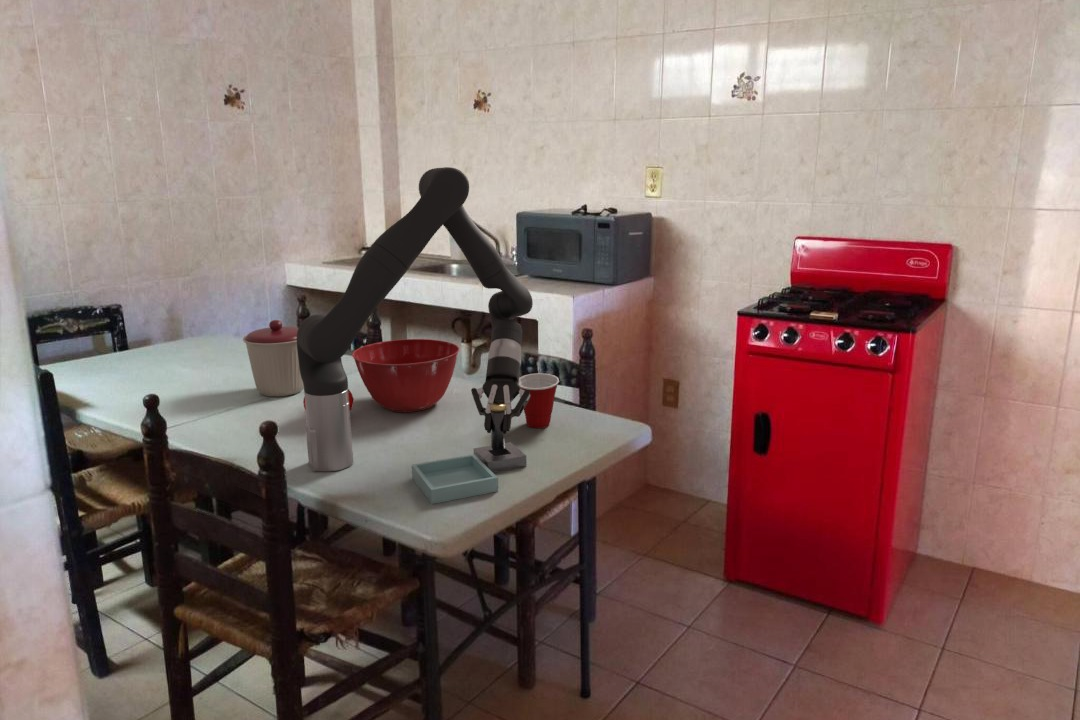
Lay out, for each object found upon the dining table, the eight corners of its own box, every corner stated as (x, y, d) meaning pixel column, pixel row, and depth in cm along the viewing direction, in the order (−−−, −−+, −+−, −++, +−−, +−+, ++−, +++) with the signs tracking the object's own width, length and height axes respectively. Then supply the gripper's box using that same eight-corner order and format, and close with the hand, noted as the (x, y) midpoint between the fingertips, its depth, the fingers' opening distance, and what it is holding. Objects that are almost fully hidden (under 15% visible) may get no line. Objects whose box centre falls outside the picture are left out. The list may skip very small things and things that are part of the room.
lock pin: (493, 451, 172) (493, 408, 169) (487, 446, 175) (487, 403, 172) (508, 449, 173) (508, 406, 171) (502, 443, 176) (502, 401, 174)
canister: (313, 380, 238) (307, 312, 232) (315, 397, 221) (309, 324, 216) (249, 385, 232) (242, 316, 227) (247, 404, 216) (239, 329, 210)
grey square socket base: (488, 473, 169) (487, 462, 169) (473, 458, 177) (473, 448, 176) (526, 466, 173) (526, 455, 172) (510, 452, 181) (510, 442, 180)
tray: (431, 503, 155) (431, 489, 154) (412, 477, 167) (411, 464, 166) (498, 491, 160) (497, 477, 159) (474, 466, 173) (474, 454, 172)
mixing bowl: (334, 405, 214) (330, 350, 210) (417, 383, 234) (415, 332, 230) (398, 429, 196) (395, 370, 192) (482, 403, 216) (481, 348, 212)
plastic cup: (508, 427, 197) (507, 381, 194) (529, 415, 206) (529, 371, 203) (546, 434, 192) (546, 387, 189) (566, 421, 201) (566, 376, 198)
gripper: (471, 353, 177) (462, 423, 168) (533, 355, 176) (527, 425, 167) (475, 370, 183) (467, 438, 175) (535, 372, 182) (530, 440, 173)
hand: (496, 431), depth 171 cm, fingers closed on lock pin, 3 cm apart
